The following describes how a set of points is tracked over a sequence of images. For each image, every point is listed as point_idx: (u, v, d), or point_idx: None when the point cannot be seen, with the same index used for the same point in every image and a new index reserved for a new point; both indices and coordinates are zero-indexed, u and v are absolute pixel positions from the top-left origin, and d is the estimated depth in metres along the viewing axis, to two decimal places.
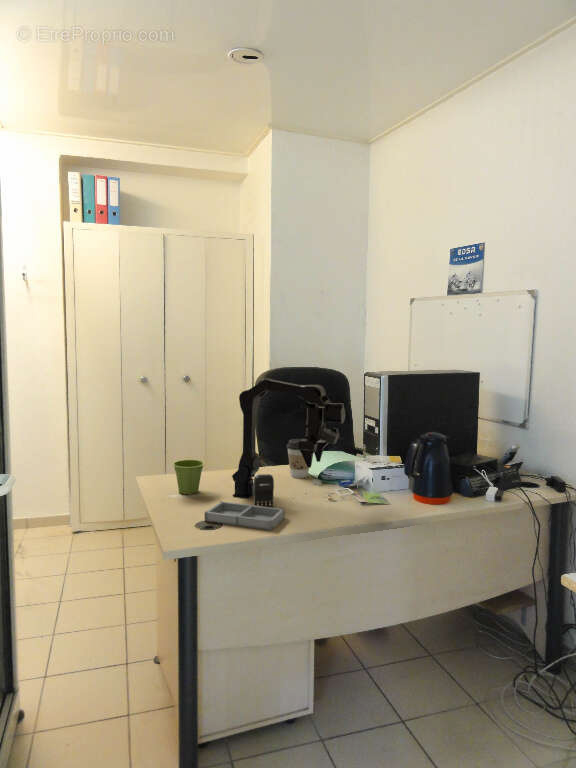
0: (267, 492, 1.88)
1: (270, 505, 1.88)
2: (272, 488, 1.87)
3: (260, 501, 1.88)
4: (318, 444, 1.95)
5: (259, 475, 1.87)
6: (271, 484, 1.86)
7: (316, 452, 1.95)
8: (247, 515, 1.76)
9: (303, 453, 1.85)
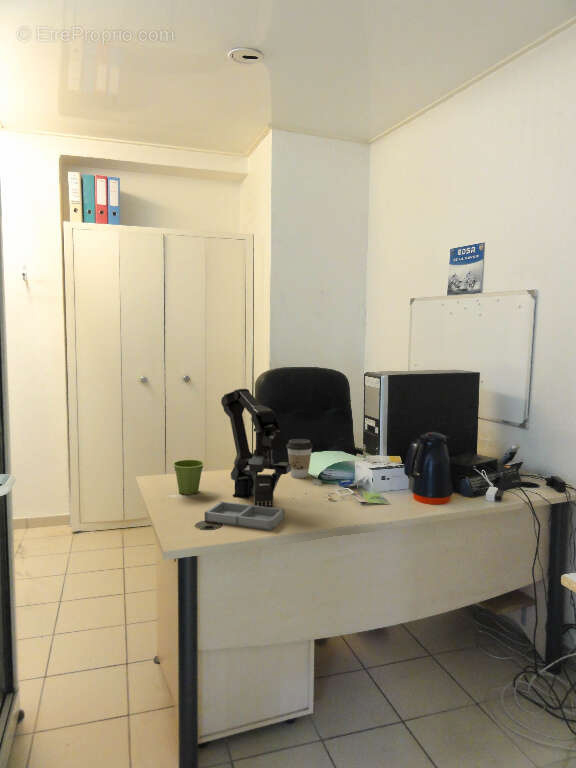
0: (267, 492, 1.88)
1: (270, 505, 1.88)
2: None
3: (260, 501, 1.88)
4: None
5: (259, 475, 1.87)
6: (271, 484, 1.86)
7: None
8: (247, 515, 1.76)
9: None
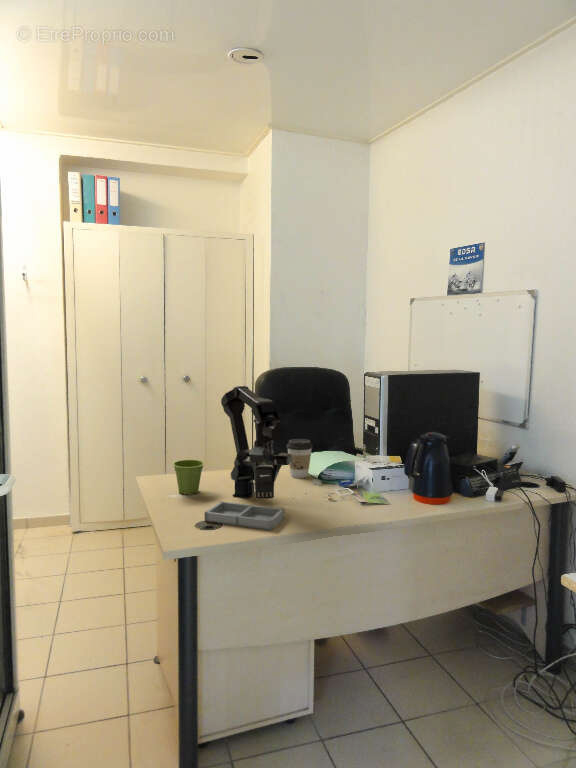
0: (268, 483, 1.88)
1: (270, 496, 1.87)
2: None
3: (261, 492, 1.88)
4: None
5: (260, 466, 1.87)
6: (272, 475, 1.86)
7: None
8: (247, 515, 1.76)
9: None
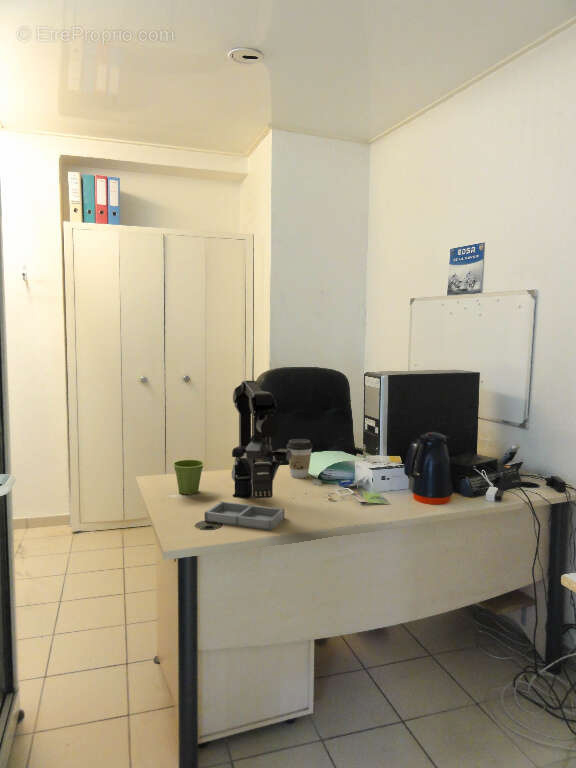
0: (266, 481, 1.75)
1: (269, 495, 1.75)
2: None
3: (259, 491, 1.75)
4: None
5: (257, 463, 1.74)
6: (270, 473, 1.73)
7: None
8: (247, 515, 1.76)
9: None
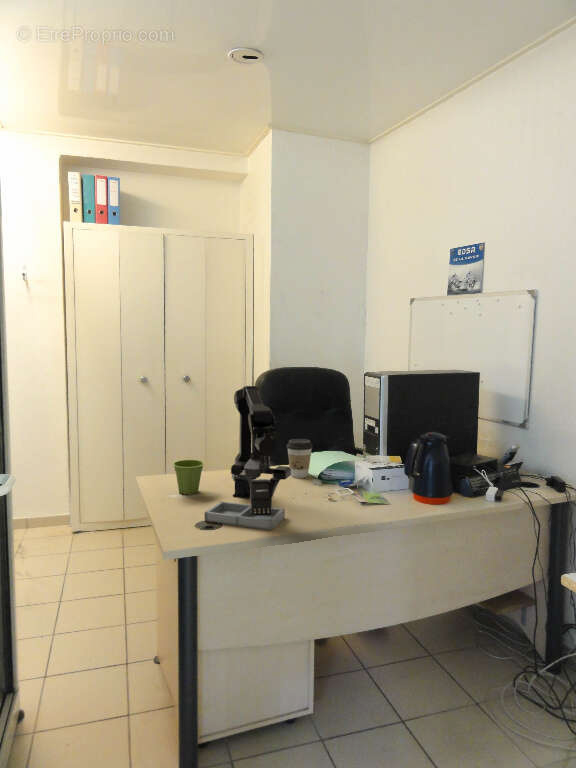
0: (265, 499, 1.73)
1: (268, 512, 1.73)
2: None
3: (257, 508, 1.73)
4: None
5: (256, 480, 1.72)
6: (269, 490, 1.71)
7: None
8: (247, 515, 1.76)
9: None
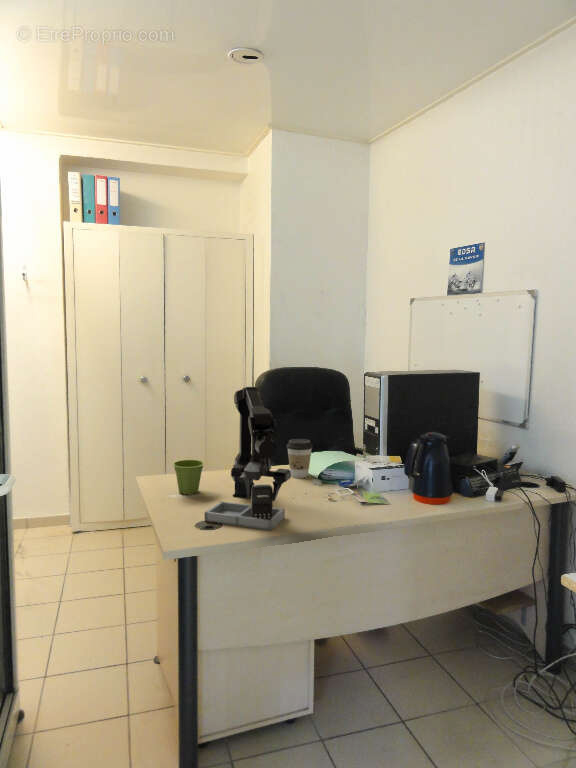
0: (266, 504, 1.73)
1: (269, 518, 1.73)
2: (271, 500, 1.72)
3: (258, 514, 1.74)
4: None
5: (257, 485, 1.73)
6: (270, 495, 1.72)
7: None
8: (247, 515, 1.76)
9: None
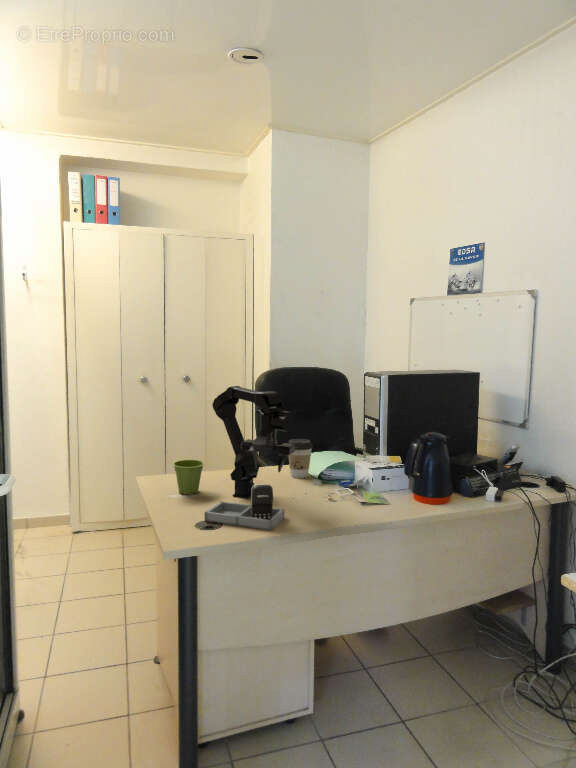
0: (266, 504, 1.73)
1: (269, 518, 1.73)
2: (271, 500, 1.72)
3: (258, 514, 1.74)
4: None
5: (257, 485, 1.73)
6: (270, 495, 1.72)
7: None
8: (247, 515, 1.76)
9: None
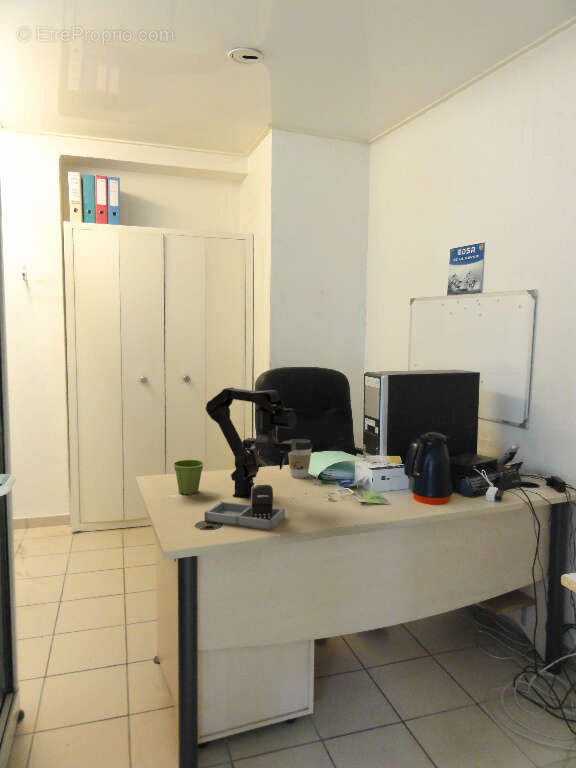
0: (266, 504, 1.73)
1: (269, 518, 1.73)
2: (271, 500, 1.72)
3: (258, 514, 1.74)
4: None
5: (257, 485, 1.73)
6: (270, 495, 1.72)
7: None
8: (247, 515, 1.76)
9: None
